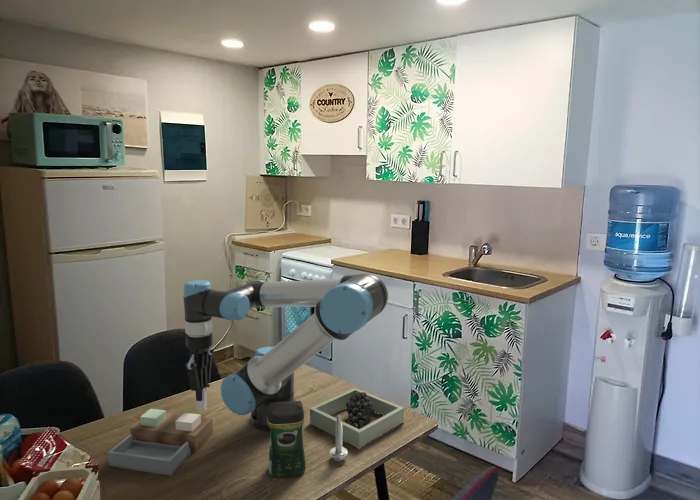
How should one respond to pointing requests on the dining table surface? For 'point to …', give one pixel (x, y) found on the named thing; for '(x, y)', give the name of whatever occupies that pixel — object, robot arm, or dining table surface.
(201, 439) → the walnut riser
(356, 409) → the fruit
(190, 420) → the cream tile
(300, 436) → the coffee jar
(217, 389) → the dining table surface
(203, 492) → the dining table surface
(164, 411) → the sage tile
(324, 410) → the fruit crate
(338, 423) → the screw
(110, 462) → the tray
